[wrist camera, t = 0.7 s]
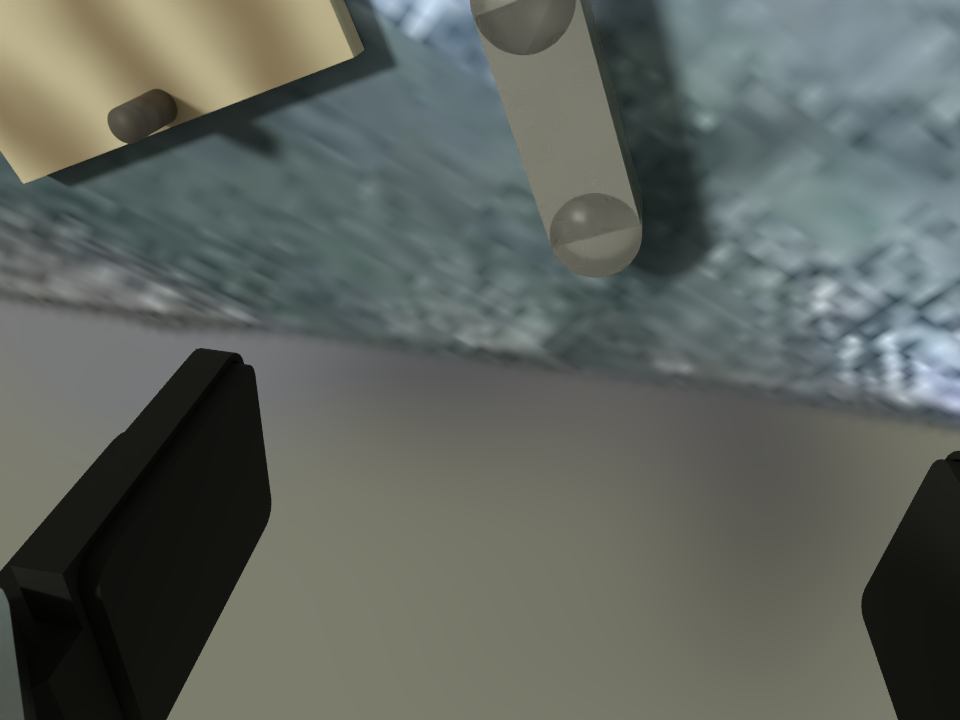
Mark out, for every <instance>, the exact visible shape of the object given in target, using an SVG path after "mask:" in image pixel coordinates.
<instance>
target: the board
mask: <svg viewBox="0 0 960 720" xmlns="http://www.w3.org/2000/svg"><path fill="white" fill-rule="evenodd" d="M364 50H365V49H364V47H363V45H362V42H361V40H360V37H359V35H358V33H357V30H356V28H355V25H354V23H353V21H352V18H351V16H350V13H349V11H348V9H347V6H346V4H345V1H344V0H0V151H1V152H2V154H3V155H4V156H5V158H6V159H7V161H8V162H9V164H10V165H11V166H12V168H13V169H14V171H15V172H16V174H17V175H18V177H19V178H20V179H21V181H22V182H23V184H25V183H27V182H30V181H32V180H35V179H38V178H40V177H43V176H45V175H48V174H51V173H53V172H56V171H59V170H61V169H64V168H66V167H69V166H72V165H74V164H77V163H79V162H82V161H85V160H87V159H90V158H93V157H95V156H98V155H100V154H103V153H106V152H108V151H111V150H113V149H116V148H119V147H121V146H124V145H127V144H134V143H137V142H138V141H140V140H142V139H143V138H145V137H147V136H150V135H153V134H155V133H158V132H161V131H163V130H166V129H168V128H171V127H174V126H176V125H179V124H181V123H184V122H187V121H189V120H192V119H194V118H197V117H200V116H202V115H205V114H208V113H210V112H213V111H215V110H218V109H221V108H223V107H226V106H228V105H231V104H234V103H236V102H239V101H242V100H244V99H247V98H249V97H252V96H255V95H257V94H260V93H262V92H265V91H268V90H270V89H273V88H276V87H278V86H281V85H283V84H286V83H289V82H291V81H294V80H296V79H299V78H302V77H304V76H307V75H310V74H312V73H315V72H317V71H320V70H323V69H325V68H328V67H330V66H333V65H336V64H338V63H341V62H343V61H346V60H349V59H351V58H354V57H355V56H357V55H358V54H360V53H361V52H362V51H364Z"/></svg>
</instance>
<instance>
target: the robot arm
mask: <svg viewBox="0 0 960 720" xmlns="http://www.w3.org/2000/svg"><path fill="white" fill-rule="evenodd" d="M270 512H271V494H270V486H269V478H268V471H267V463H266V455H265V447H264V439H263V431H262V424H261V417H260V408H259V401H258V393H257V385H256V377H255V372H254V369H253V367H252V366H251V365H246V364H244V362H243V359H242V357H241V356H240V355H239V354H238V353H233V352H225V351H218V350H211V349H203V348H200V349H196V350H195V351H194V352H193V353H192V354H191V355H190V356H189V357H188V358H187V360H186V361H185V362H184V363H183V364H182V365H181V367H180V368H179V369H178V370H177V371H176V372H175V374H174V375H173V376H172V377H171V378H170V379H169V381H168V382H167V383H166V384H165V385H164V387H163V388H162V389H161V390H160V391H159V392H158V394H157V395H156V396H155V397H154V398H153V400H152V401H151V402H150V403H149V404H148V405H147V406H146V408H145V409H144V410H143V411H142V412H141V413H140V415H139V416H138V417H137V418H136V419H135V420H134V422H133V423H132V424H131V425H130V426H129V428H128V429H127V430H126V431H125V432H123V433H121V434H120V435H119V436H117V437H116V438H115V439H114V440H113V441H112V442H111V443H110V445H109V446H108V447H107V448H106V449H105V450H104V452H103V453H102V454H101V455H100V456H99V457H98V458H97V460H96V461H95V462H94V463H93V464H92V465H91V466H90V468H89V469H88V470H87V471H86V472H85V473H84V475H83V476H82V477H81V478H80V479H79V480H78V482H77V483H76V484H75V485H74V486H73V487H72V489H71V490H70V491H69V492H68V493H67V494H66V496H65V497H64V498H63V499H62V500H61V501H60V503H59V504H58V505H57V506H56V507H55V508H54V509H53V511H52V512H51V513H50V514H49V515H48V516H47V518H46V519H45V520H44V521H43V522H42V523H41V525H40V526H39V527H38V528H37V529H36V530H35V531H34V533H33V534H32V535H31V536H30V537H29V539H28V540H27V541H26V542H25V543H24V545H22V547H21V548H20V549H19V550H18V551H17V552H16V554H15V555H14V556H13V557H12V558H11V559H10V561H9V562H8V563H7V564H6V565H5V567H3V569H2V570H1V571H0V720H166V719H167V717H168V715H169V713H170V711H171V709H172V707H173V705H174V703H175V701H176V700H177V698H178V696H179V694H180V692H181V690H182V688H183V686H184V684H185V682H186V680H187V678H188V676H189V675H190V672H191V670H192V669H193V667H194V665H195V663H196V661H197V659H198V657H199V655H200V653H201V651H202V649H203V647H204V645H205V643H206V641H207V640H208V638H209V636H210V634H211V632H212V630H213V628H214V626H215V624H216V622H217V620H218V618H219V616H220V614H221V613H222V611H223V609H224V607H225V605H226V603H227V601H228V599H229V597H230V595H231V593H232V591H233V589H234V587H235V585H236V583H237V582H238V580H239V578H240V576H241V574H242V572H243V570H244V568H245V566H246V564H247V562H248V560H249V558H250V556H251V554H252V552H253V550H254V548H255V547H256V545H257V543H258V541H259V539H260V537H261V535H262V533H263V531H264V529H265V527H266V525H267V523H268V519H269V517H270ZM861 607H862V615H863V619H864V622H865V625H866V628H867V631H868V634H869V637H870V639H871V642H872V645H873V648H874V651H875V654H876V657H877V660H878V663H879V665H880V669H881V671H882V674H883V677H884V680H885V683H886V686H887V689H888V692H889V695H890V697H891V701H892V703H893V706H894V709H895V712H896V715H897V718H898V720H960V451H954V452H953V453H951V454H950V455H948V456H947V458H946V459H945V460H943V459H941V460H937V461H935V462H934V463H933V464H932V466H931V467H930V469H929V471H928V473H927V474H926V476H925V478H924V480H923V482H922V484H921V486H920V487H919V489H918V491H917V493H916V495H915V497H914V498H913V500H912V502H911V504H910V506H909V508H908V510H907V511H906V513H905V515H904V517H903V519H902V521H901V523H900V524H899V526H898V528H897V530H896V532H895V534H894V536H893V538H892V539H891V541H890V543H889V545H888V547H887V549H886V550H885V553H884V554H883V556H882V558H881V560H880V562H879V563H878V565H877V567H876V569H875V571H874V573H873V575H872V576H871V578H870V580H869V582H868V584H867V586H866V588H865V590H864V593H863V596H862V605H861Z"/></svg>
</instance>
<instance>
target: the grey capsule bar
mask: <svg viewBox="0 0 960 720" xmlns="http://www.w3.org/2000/svg"><path fill="white" fill-rule="evenodd" d="M470 5H471V11H472V15H473V18H474V21H475V24H476V27H477V30H478V33H479V36H480V39H481V42H482V44H483V47H484V50H485V53H486V56H487V59H488V62H489V65H490V68H491V71H492V74H493V77H494V80H495V83H496V86H497V89H498V92H499V94H500V97H501V100H502V103H503V106H504V109H505V112H506V115H507V118H508V121H509V124H510V127H511V130H512V133H513V136H514V139H515V142H516V144H517V147H518V150H519V153H520V156H521V159H522V162H523V165H524V168H525V171H526V174H527V177H528V180H529V183H530V186H531V189H532V192H533V195H534V197H535V200H536V203H537V206H538V209H539V212H540V215H541V218H542V221H543V224H544V227H545V230H546V233H547V236H548V239H549V242H550V245H551V247H552V250H553V252H554V254H555V256H556V257H557V259H558V260H559V261H560V262H561V263H562V264H563V265H564V266H565V267H566V268H568V269H569V270H571V271H572V272H574V273H577V274H579V275H583V276H587V277H604V276H609V275H612V274H615V273H617V272H619V271H621V270H622V269H624V268H625V267H627V266H628V265H629V264H630V263H631V262H632V261H633V259H634V258H635V257H636V255H637V253H638V251H639V249H640V246H641V241H642V213H643V201H642V195H641V191H640V187H639V183H638V179H637V175H636V172H635V168H634V164H633V160H632V157H631V153H630V149H629V145H628V141H627V138H626V134H625V130H624V126H623V122H622V119H621V115H620V111H619V107H618V103H617V100H616V96H615V92H614V88H613V84H612V81H611V77H610V73H609V69H608V65H607V62H606V58H605V54H604V50H603V47H602V43H601V39H600V35H599V31H598V28H597V24H596V20H595V16H594V12H593V9H592V5H591V1H590V0H470Z"/></svg>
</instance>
